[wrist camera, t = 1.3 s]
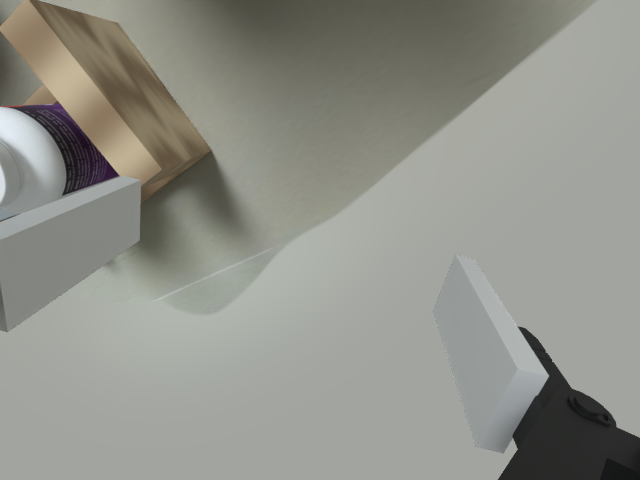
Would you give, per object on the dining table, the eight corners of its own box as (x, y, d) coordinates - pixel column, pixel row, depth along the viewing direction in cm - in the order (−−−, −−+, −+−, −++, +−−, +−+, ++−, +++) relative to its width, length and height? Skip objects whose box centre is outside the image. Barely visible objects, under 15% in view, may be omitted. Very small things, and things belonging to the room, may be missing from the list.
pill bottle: (92, 83, 36) (-64, 78, 23) (156, 146, 38) (44, 175, 25) (51, 142, 39) (-110, 167, 26) (113, 198, 41) (-10, 249, 27)
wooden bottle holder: (0, 137, 39) (-112, 151, 30) (117, 23, 34) (26, -3, 25) (92, 240, 43) (17, 281, 33) (211, 150, 37) (162, 169, 28)
